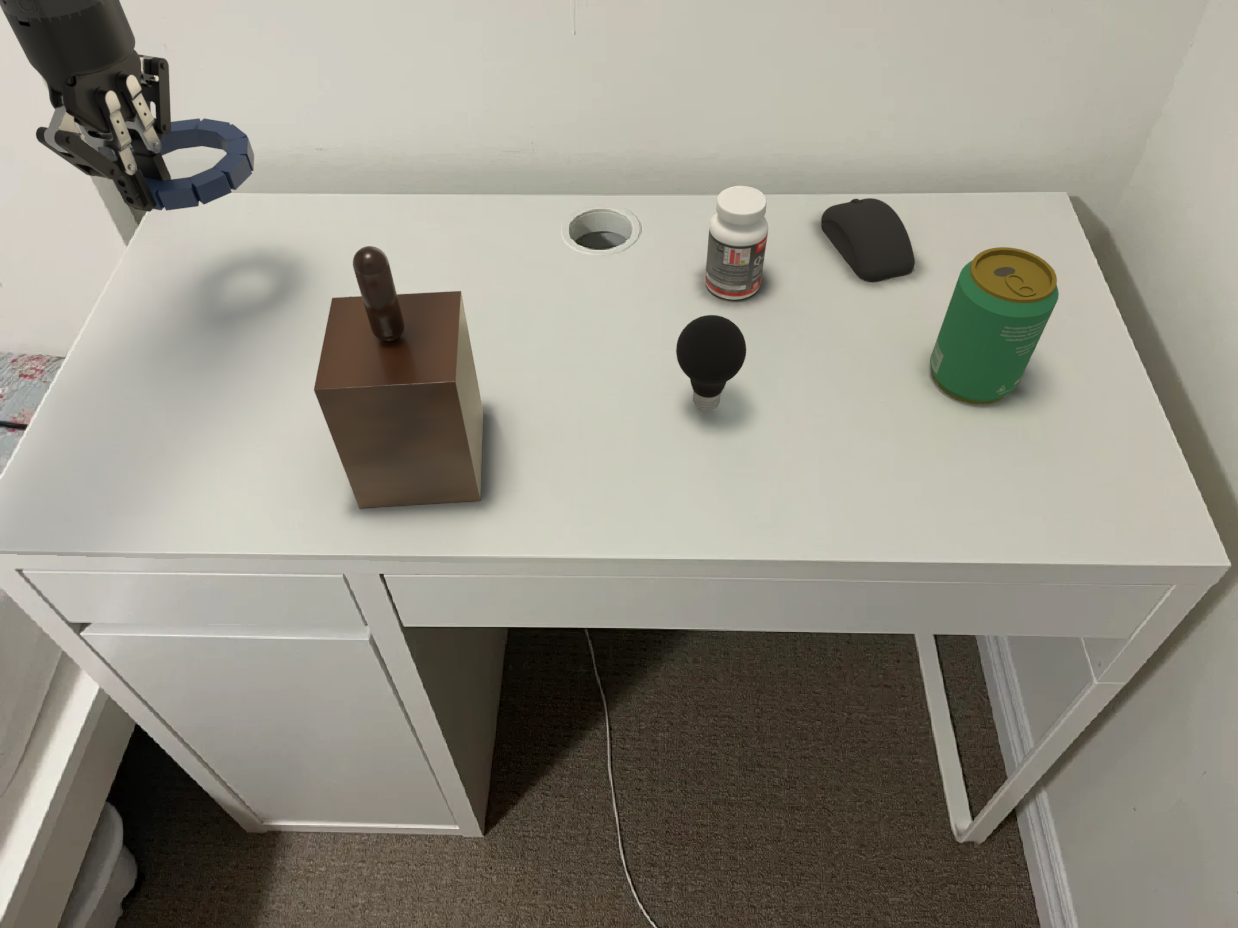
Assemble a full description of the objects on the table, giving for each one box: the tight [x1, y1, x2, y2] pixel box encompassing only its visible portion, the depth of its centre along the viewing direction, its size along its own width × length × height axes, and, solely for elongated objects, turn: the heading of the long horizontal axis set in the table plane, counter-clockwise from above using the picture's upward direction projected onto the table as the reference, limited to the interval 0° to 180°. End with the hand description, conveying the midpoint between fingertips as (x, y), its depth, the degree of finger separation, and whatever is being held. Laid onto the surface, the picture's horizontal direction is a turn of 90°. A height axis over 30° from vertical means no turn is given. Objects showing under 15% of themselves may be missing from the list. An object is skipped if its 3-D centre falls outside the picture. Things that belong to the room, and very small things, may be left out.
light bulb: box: [675, 314, 747, 412], centre depth 78 cm, size 6×6×10 cm
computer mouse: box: [820, 197, 916, 283], centre depth 95 cm, size 6×11×4 cm, turn 18°
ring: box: [112, 117, 255, 211], centre depth 80 cm, size 12×12×2 cm
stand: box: [313, 245, 484, 509], centre depth 70 cm, size 10×10×22 cm
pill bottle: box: [704, 185, 769, 301], centre depth 89 cm, size 6×6×10 cm
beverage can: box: [929, 246, 1060, 405], centre depth 79 cm, size 8×8×12 cm
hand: (152, 199), depth 78 cm, fingers closed on ring, 2 cm apart
